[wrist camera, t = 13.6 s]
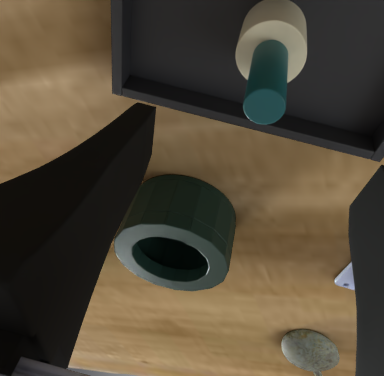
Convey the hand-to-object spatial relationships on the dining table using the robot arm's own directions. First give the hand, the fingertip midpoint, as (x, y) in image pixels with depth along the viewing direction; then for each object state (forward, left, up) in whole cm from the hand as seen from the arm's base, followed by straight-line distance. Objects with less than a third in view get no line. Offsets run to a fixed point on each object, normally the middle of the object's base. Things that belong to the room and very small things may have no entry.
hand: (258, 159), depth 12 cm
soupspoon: (-20, +42, -11) cm, 47 cm away
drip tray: (0, 0, -10) cm, 10 cm away
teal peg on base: (0, 0, -10) cm, 10 cm away
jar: (+2, +17, -10) cm, 20 cm away
